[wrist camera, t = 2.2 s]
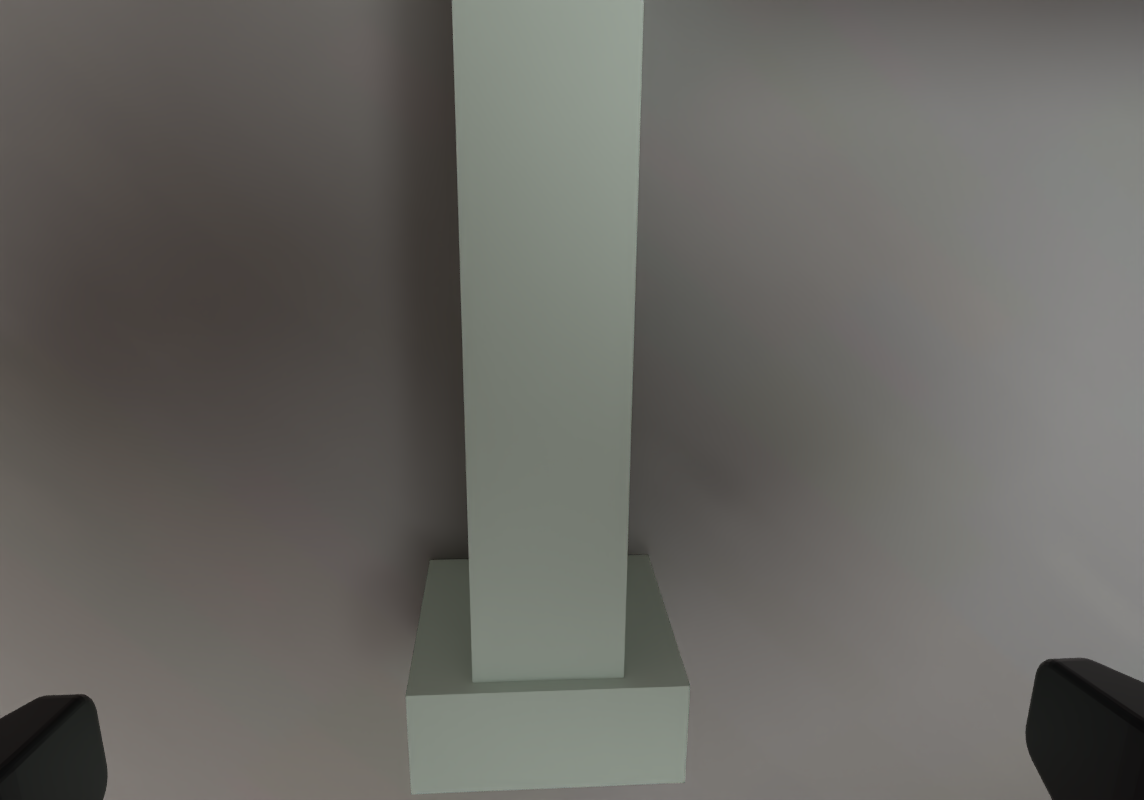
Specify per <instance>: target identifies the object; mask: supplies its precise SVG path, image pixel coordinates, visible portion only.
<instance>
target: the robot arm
mask: <svg viewBox="0 0 1144 800" xmlns="http://www.w3.org/2000/svg"><path fill="white" fill-rule="evenodd" d="M1026 743H1027V748H1028V751H1029V754H1030V756H1031V759H1032V761H1033V763H1034V765H1035V767H1036V769H1037V771H1038V773H1039V775H1040V777H1041V779H1042V781H1043V783H1044V784H1045V786H1046V788H1047V790H1048V792H1049V794H1050V796H1051V798H1052V800H1144V682H1141V681H1139V680H1137V679H1134V678H1132V677H1130V676H1127V675H1125V674H1123V673H1120V672H1118V671H1116V670H1113V669H1111V668H1109V667H1107V666H1104V665H1102V664H1100V663H1097V662H1095V661H1093V660H1090V659H1086V658H1062V659H1048V660H1046V661H1044V662H1042V663H1041V664H1040V666H1039V667H1038V669H1037V672H1036V676H1035V681H1034V686H1033V692H1032V697H1031V702H1030V708H1029V713H1028V718H1027V724H1026ZM106 786H107V763H106V758H105V753H104V747H103V742H102V736H101V731H100V726H99V720H98V715H97V710H96V707H95V704H94V702H93V701H92V699H91V698H89V697H88V696H86V695H83V694H76V695H48V696H42V697H39V698H37V699H35V700H33V701H31V702H29V703H27V704H26V705H24V706H22V707H20V708H18V709H17V710H15V711H13V712H11V713H9V714H8V715H6V716H4V717H2V718H0V800H103V798H104V795H105V791H106Z"/></svg>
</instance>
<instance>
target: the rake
mask: <svg viewBox="0 0 1144 800" xmlns="http://www.w3.org/2000/svg"><path fill="white" fill-rule="evenodd" d="M643 14H644V0H452V21H453V54H454V87H455V120H456V153H457V186H458V219H459V252H460V285H461V318H462V351H463V384H464V417H465V450H466V483H467V517H468V550H469V559H452V560H430V562H429V568H428V574H427V579H426V585H425V590H424V596H423V601H422V607H421V613H420V618H419V624H418V629H417V635H416V640H415V646H414V651H413V657H412V663H411V668H410V674H409V679H408V685H407V690H406V714H407V731H408V749H409V766H410V784H411V794H433V793H457V792H480V791H504V790H527V789H551V788H574V787H598V786H621V785H645V784H668V783H685V770H686V752H687V734H688V716H689V699H690V684H689V681H688V678H687V675H686V671H685V668H684V665H683V662H682V659H681V656H680V653H679V650H678V647H677V643H676V640H675V637H674V634H673V631H672V628H671V625H670V622H669V619H668V615H667V612H666V609H665V606H664V603H663V600H662V597H661V594H660V590H659V587H658V584H657V581H656V578H655V575H654V572H653V569H652V566H651V562H650V559H649V556H648V555H627V554H628V521H629V487H630V453H631V419H632V385H633V352H634V318H635V284H636V250H637V216H638V183H639V149H640V115H641V81H642V48H643Z"/></svg>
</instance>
